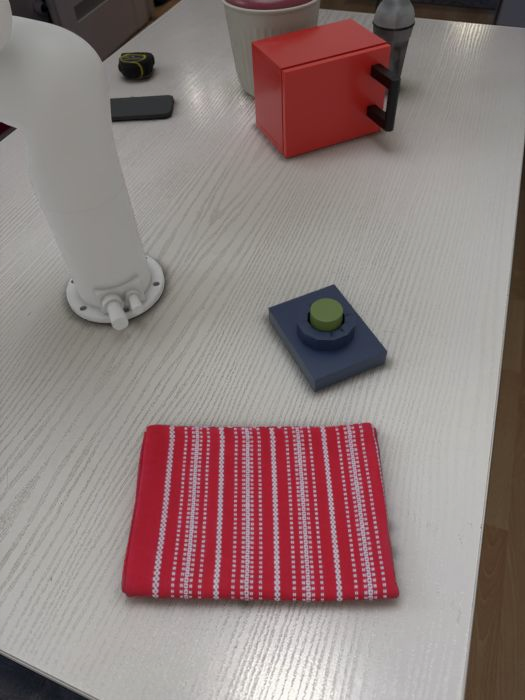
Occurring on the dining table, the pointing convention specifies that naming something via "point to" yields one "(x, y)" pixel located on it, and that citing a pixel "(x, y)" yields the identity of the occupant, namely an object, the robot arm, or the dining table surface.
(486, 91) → the dining table surface
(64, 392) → the dining table surface
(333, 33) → the cabinet
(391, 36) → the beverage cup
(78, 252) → the robot arm
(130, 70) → the tape measure
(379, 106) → the door
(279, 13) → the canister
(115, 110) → the phone
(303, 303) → the panel
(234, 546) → the dish towel
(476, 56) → the dining table surface
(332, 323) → the button
